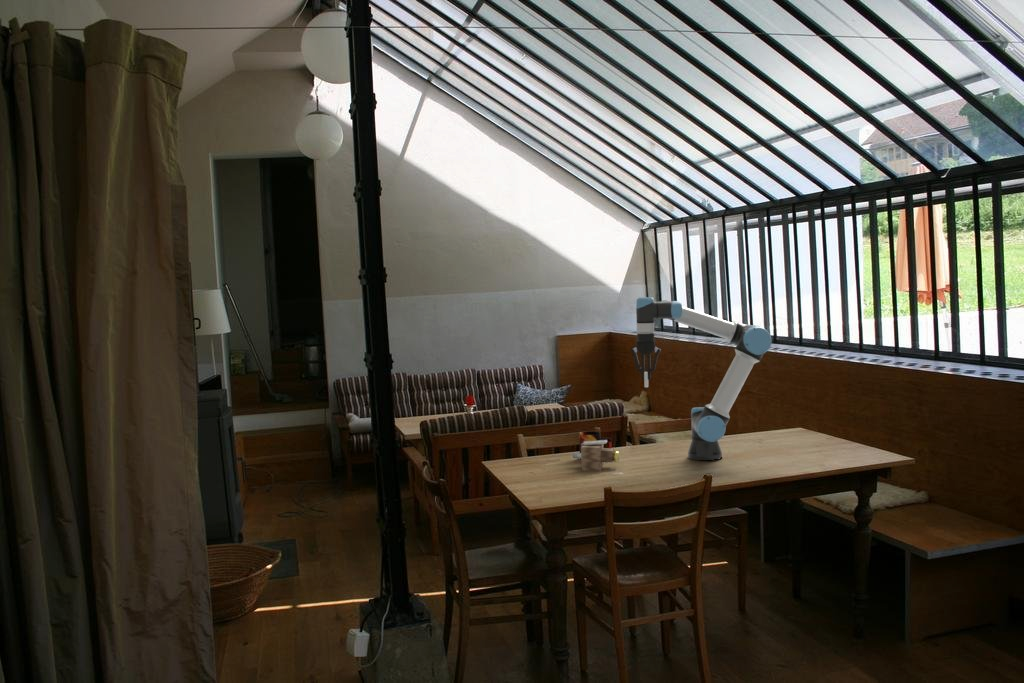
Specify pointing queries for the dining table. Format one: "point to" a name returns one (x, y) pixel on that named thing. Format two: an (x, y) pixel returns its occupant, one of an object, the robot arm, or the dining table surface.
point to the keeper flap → (595, 442)
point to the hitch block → (595, 456)
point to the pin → (615, 456)
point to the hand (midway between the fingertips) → (646, 386)
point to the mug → (591, 437)
